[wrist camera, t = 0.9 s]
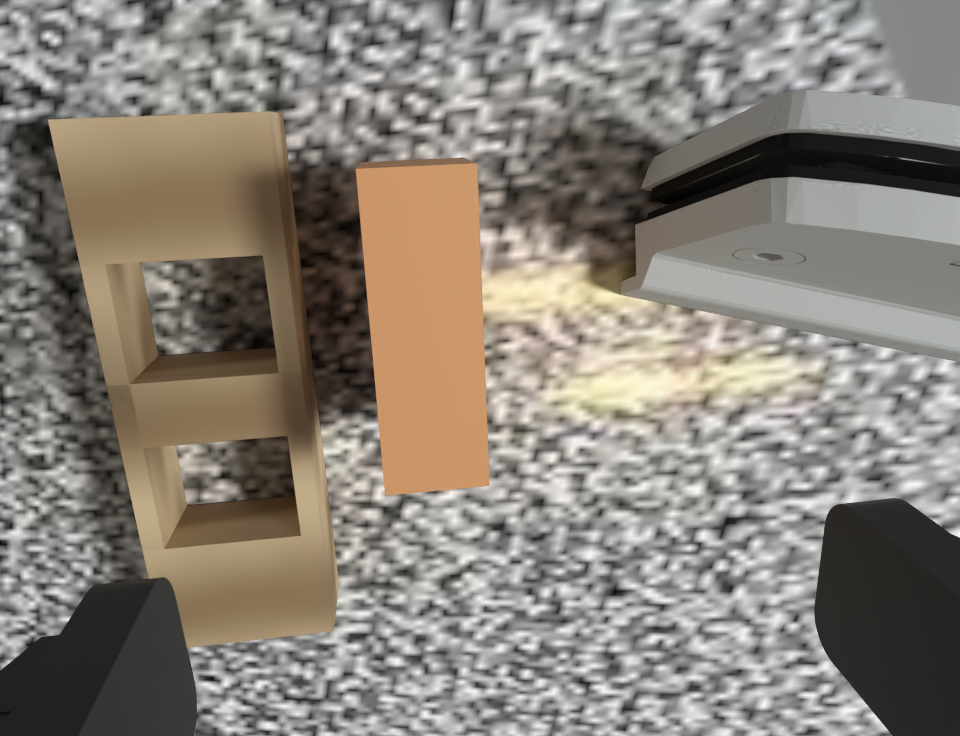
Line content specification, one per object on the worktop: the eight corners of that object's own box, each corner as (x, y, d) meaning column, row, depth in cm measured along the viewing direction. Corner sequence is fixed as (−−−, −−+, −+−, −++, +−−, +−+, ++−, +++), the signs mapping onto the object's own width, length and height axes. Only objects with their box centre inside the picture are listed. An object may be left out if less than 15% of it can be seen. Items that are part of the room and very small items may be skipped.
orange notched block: (363, 157, 24) (355, 168, 18) (452, 153, 24) (477, 163, 18) (385, 405, 27) (385, 495, 20) (464, 399, 27) (489, 485, 21)
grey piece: (609, 292, 27) (764, 240, 17) (628, 169, 27) (792, 46, 17) (987, 367, 30) (1304, 359, 20) (1001, 255, 30) (1321, 193, 20)
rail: (90, 120, 23) (48, 119, 20) (282, 113, 23) (268, 111, 21) (186, 598, 29) (164, 650, 26) (338, 582, 29) (333, 631, 26)
